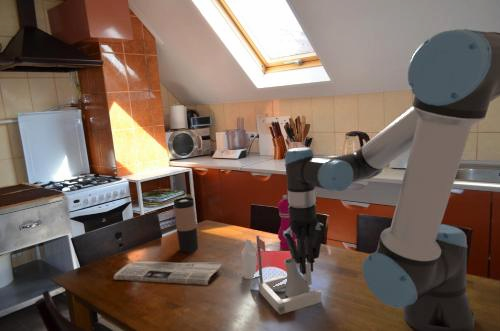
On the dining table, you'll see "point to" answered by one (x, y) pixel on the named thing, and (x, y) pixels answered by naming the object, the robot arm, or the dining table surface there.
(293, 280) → the flask
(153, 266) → the newspaper
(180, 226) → the travel mug
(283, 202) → the pepper mill
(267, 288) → the white u-shaped stand
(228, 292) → the dining table surface
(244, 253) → the grey piece
